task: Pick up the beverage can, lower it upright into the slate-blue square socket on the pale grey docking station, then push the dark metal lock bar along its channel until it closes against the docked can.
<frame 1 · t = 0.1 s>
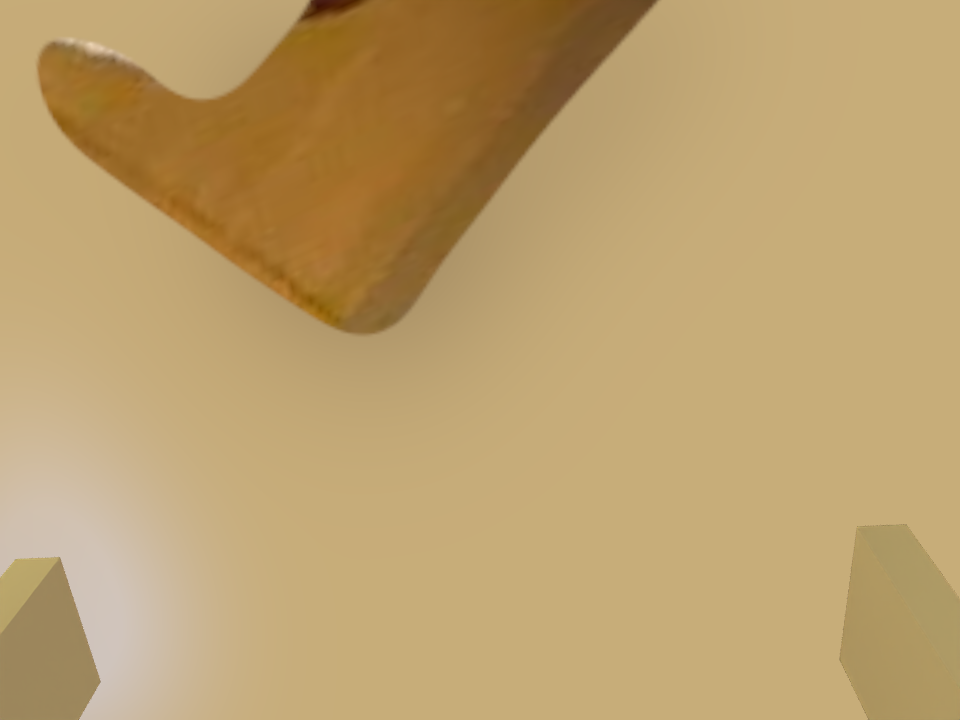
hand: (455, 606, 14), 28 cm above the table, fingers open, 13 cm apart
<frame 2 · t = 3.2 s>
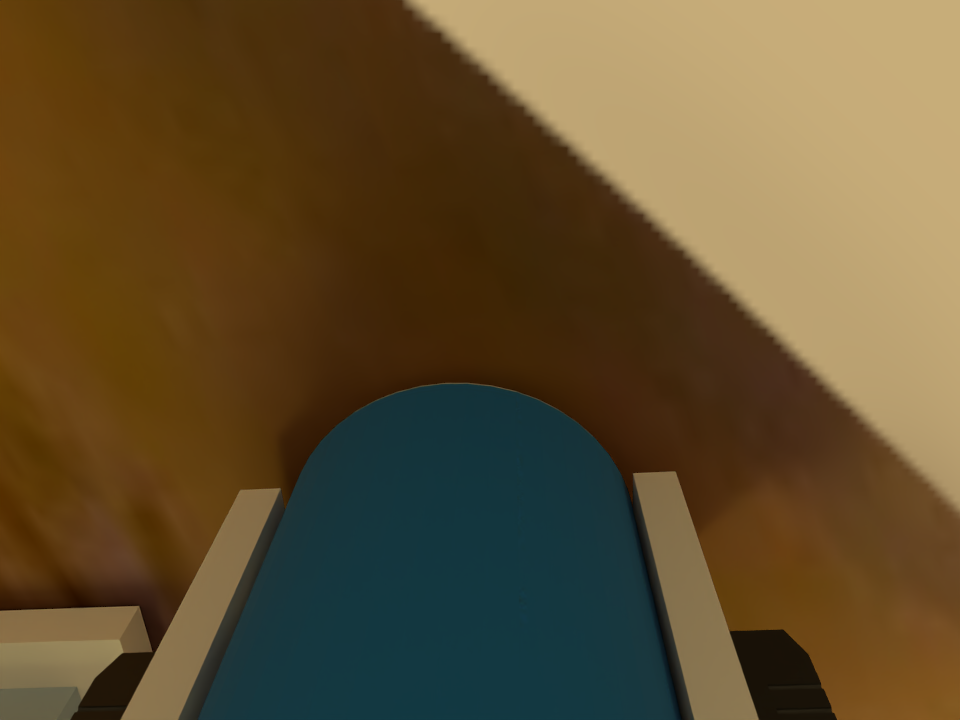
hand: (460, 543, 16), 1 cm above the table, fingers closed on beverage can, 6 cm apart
beverage can: (464, 507, 17), on the table, touching gripper
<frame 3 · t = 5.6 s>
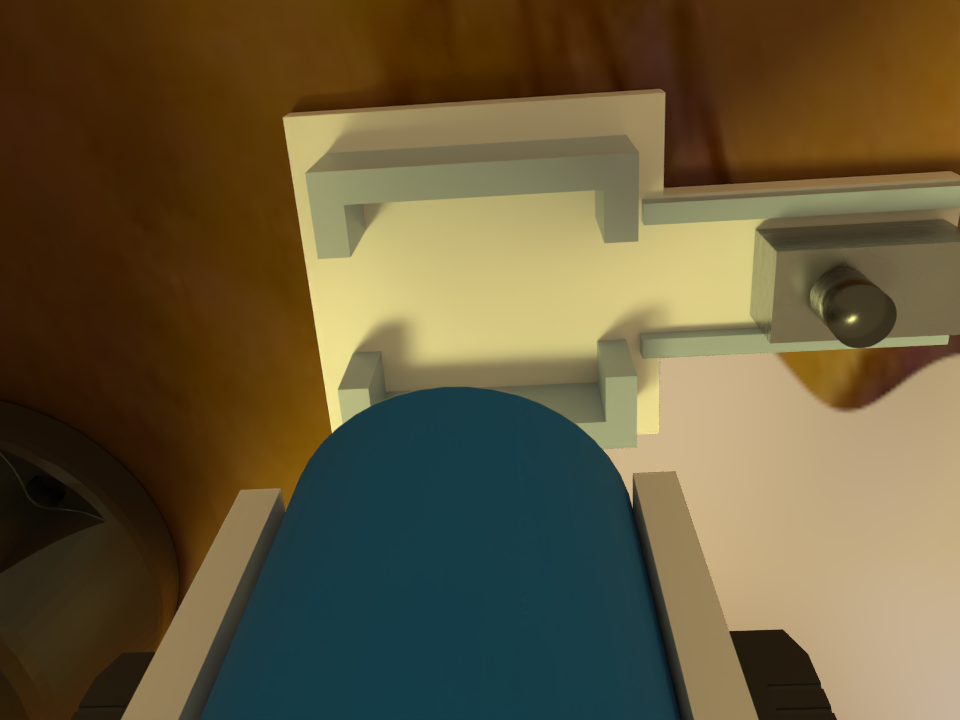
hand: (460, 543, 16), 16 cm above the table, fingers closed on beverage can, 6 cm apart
dock station: (484, 277, 30), on the table
beverage can: (464, 510, 17), point 14 cm above the table, touching gripper
lock bar: (870, 291, 26), point 3 cm above the table, slide at 0.0 cm
when the fingers open (3 cm above the table, at t = 8.1 s): beverage can drops 1 cm, resting on dock station.
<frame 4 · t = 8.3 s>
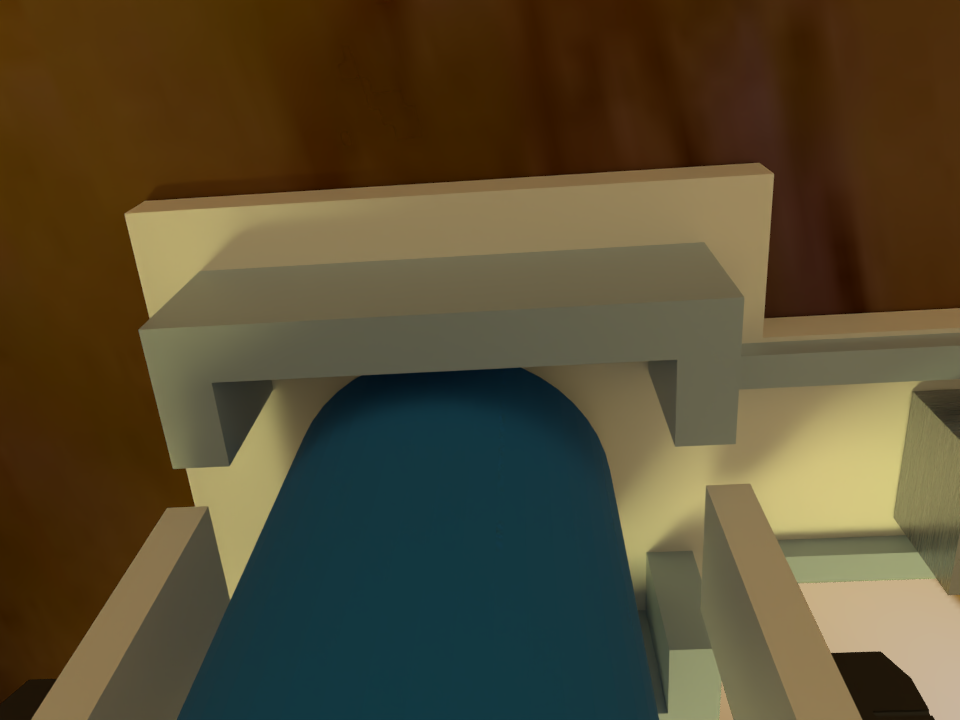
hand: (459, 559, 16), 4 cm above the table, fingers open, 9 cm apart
dock station: (468, 450, 19), on the table
beverage can: (455, 471, 18), point 1 cm above the table, touching dock station
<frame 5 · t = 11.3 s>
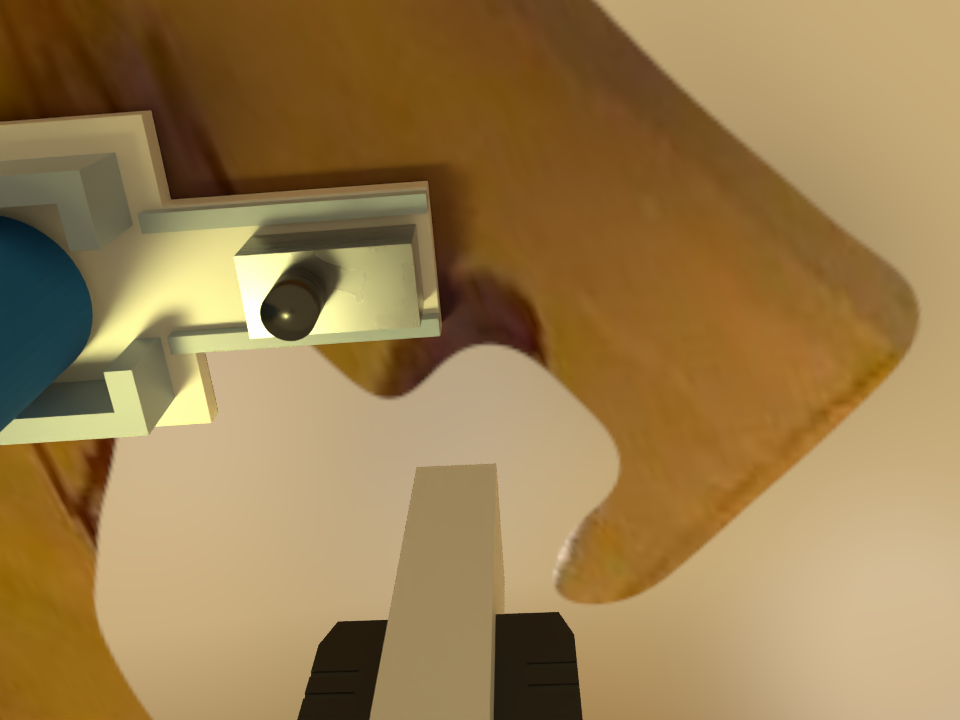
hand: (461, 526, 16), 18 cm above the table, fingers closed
dock station: (32, 283, 33), on the table
beverage can: (16, 291, 32), point 1 cm above the table, touching dock station
lock bar: (329, 289, 30), point 3 cm above the table, slide at 0.0 cm
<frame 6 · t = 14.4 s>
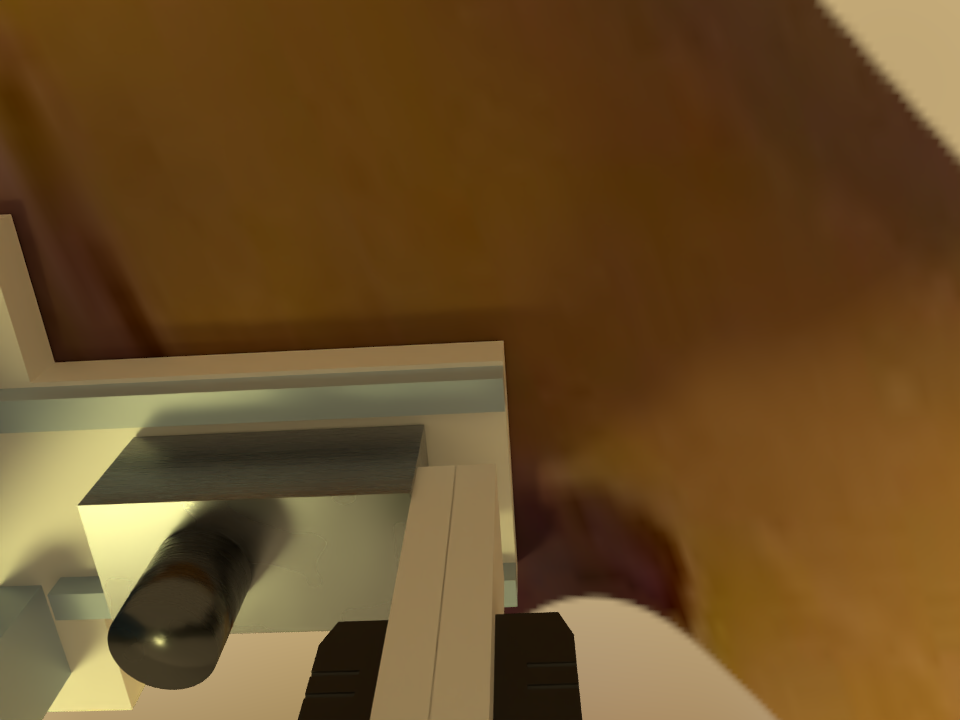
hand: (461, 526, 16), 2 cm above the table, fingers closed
lock bar: (260, 560, 16), point 3 cm above the table, slide at 1.2 cm, touching gripper
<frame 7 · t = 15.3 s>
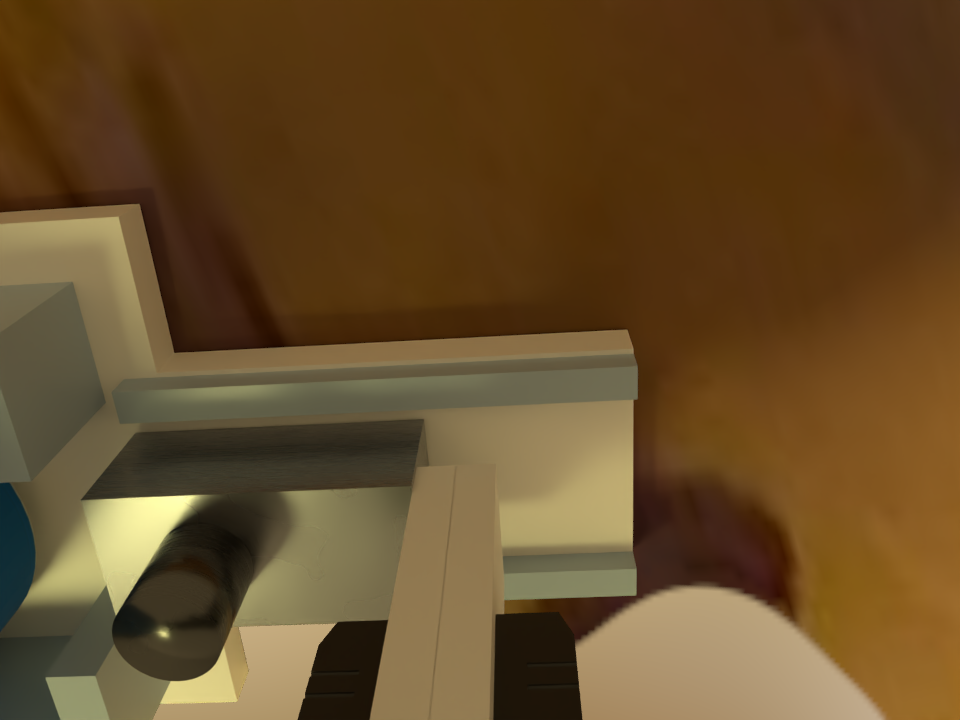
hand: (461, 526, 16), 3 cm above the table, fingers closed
lock bar: (262, 553, 16), point 3 cm above the table, slide at 3.7 cm, touching gripper
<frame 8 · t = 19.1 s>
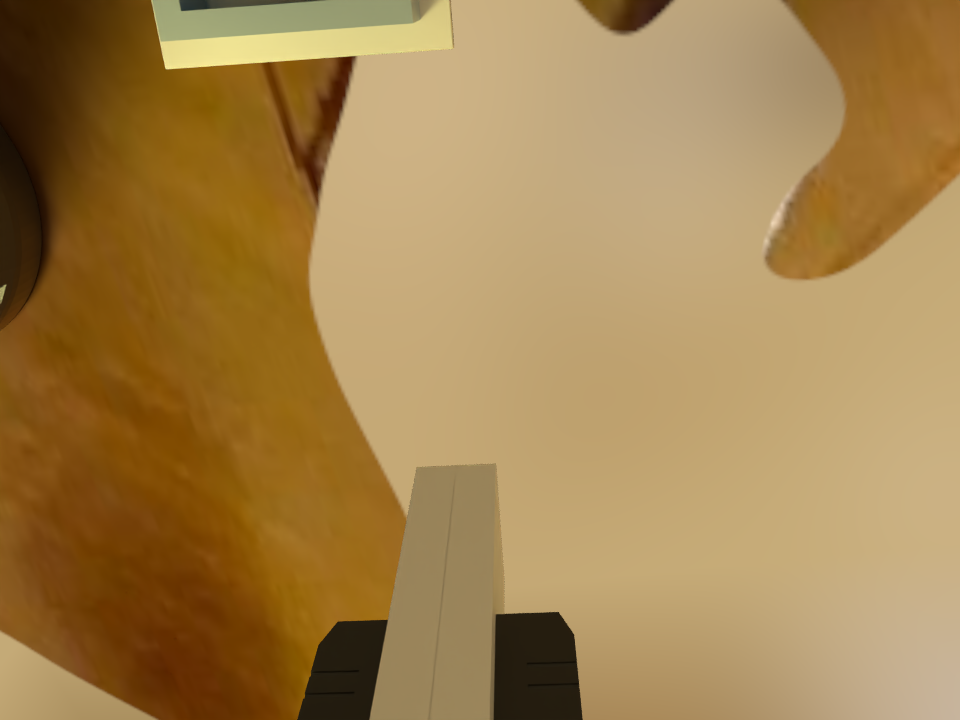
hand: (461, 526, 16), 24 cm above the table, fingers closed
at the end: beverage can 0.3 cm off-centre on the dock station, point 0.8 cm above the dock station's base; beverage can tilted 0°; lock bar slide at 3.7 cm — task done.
